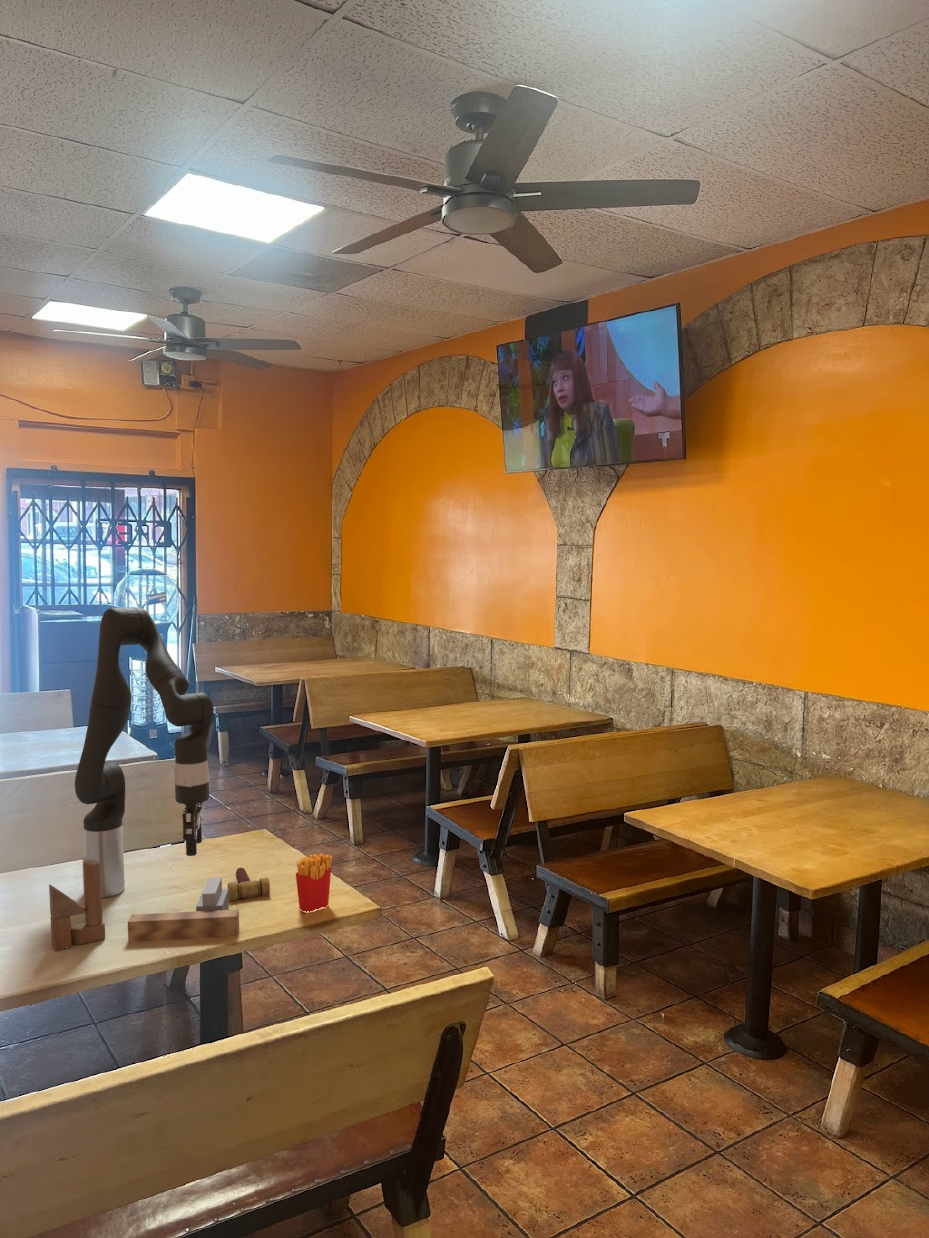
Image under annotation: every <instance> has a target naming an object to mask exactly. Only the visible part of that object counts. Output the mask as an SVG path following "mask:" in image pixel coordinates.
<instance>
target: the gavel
mask: <svg viewBox="0 0 929 1238" xmlns="http://www.w3.org/2000/svg"><path fill="white" fill-rule="evenodd" d="M235 875H236V878H237V880H238V881H239V883H238V882H237V881H232V882H228V883H227V889H228V898H229V902H234V901H238V900H239V899H247V898H254V897H258V896H261V897H267V896H268V897H269V896H270V895H271V885H270V879H269V877H261V878H259V880H256V879H255V880H254V879H253V880H251V879H250V877H249V875H248V873H247V871H246V869H245V868H243V867H238V868H237V869H236V871H235Z"/></svg>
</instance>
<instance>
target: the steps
mask: <svg viewBox="0 0 929 1238" xmlns="http://www.w3.org/2000/svg"><path fill="white" fill-rule="evenodd" d="M222 878H223V877H222V876H221V877H209V878H208V880H207V882H206V884H205V887H204V888H203V890H202V892H201V894H200V896H199V899H198V901H197V904H196V906H195V911H215V910H230V909H229V908H230V907H229V906H230V905H229V903H230V901H229V898H228V888H223V879H222Z"/></svg>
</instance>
